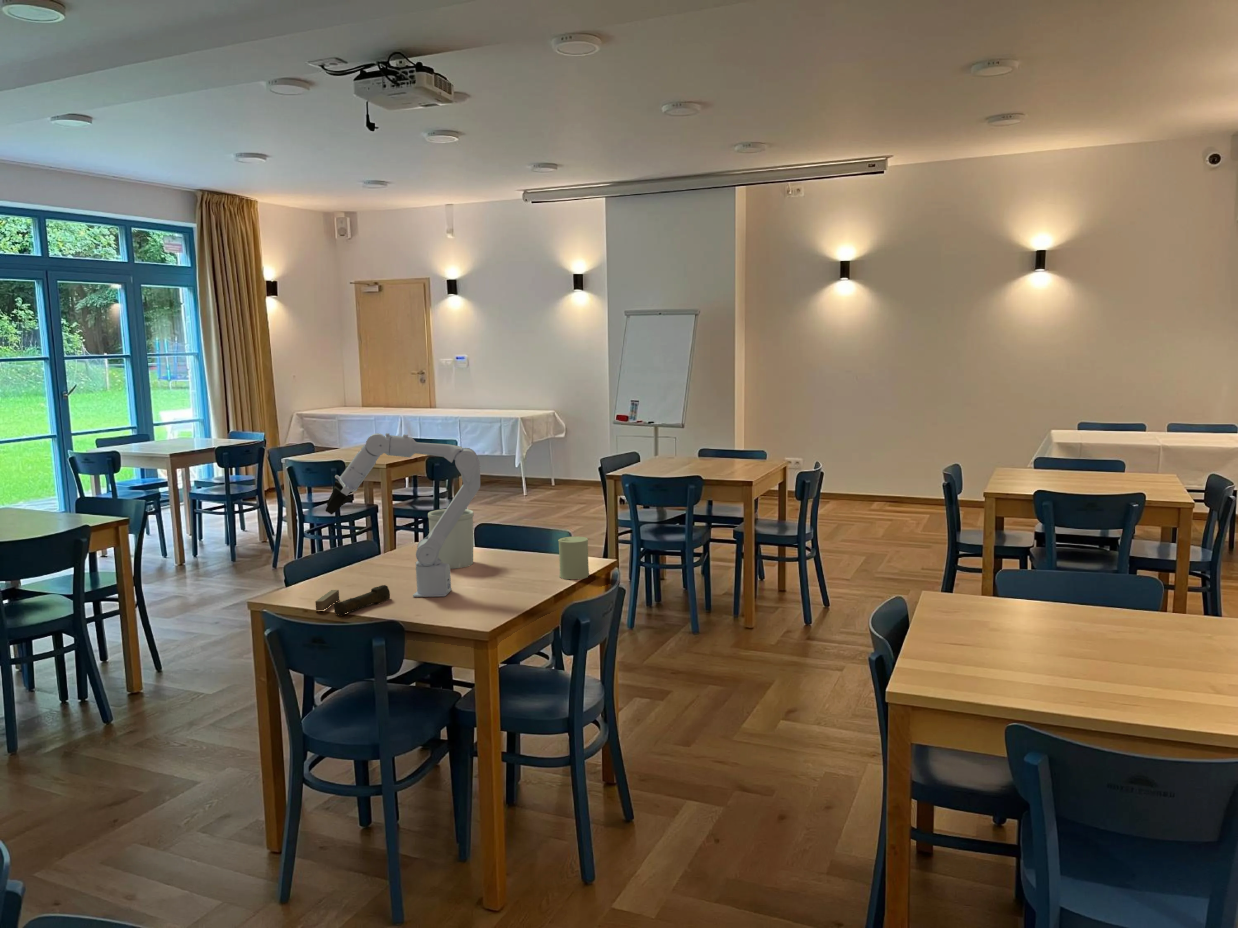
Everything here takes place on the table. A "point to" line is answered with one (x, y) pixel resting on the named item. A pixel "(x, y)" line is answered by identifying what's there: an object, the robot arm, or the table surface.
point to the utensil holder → (456, 540)
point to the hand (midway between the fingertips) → (329, 509)
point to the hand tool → (363, 600)
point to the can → (573, 557)
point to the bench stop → (327, 600)
